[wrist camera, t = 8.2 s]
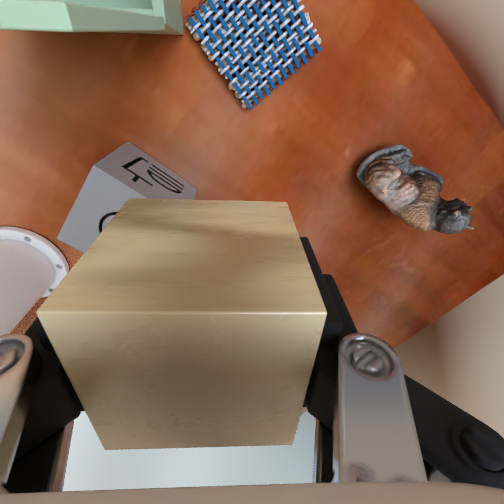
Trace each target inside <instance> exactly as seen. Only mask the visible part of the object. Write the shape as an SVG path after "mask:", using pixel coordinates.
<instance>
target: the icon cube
mask: <svg viewBox="0 0 504 504" xmlns="http://www.w3.org/2000/svg"><path fill="white" fill-rule="evenodd" d="M196 192H197V188H196V187H194V186H193V185H191V184H190V183H188V182H187V181H185V180H184V179H182V178H181V177H179V176H178V175H177V174H175V173H174V172H172V171H171V170H169V169H168V168H166V167H165V166H163V165H162V164H161V163H159V162H158V161H156V160H155V159H153V158H152V157H150V156H149V155H147V154H146V153H145V152H143V151H142V150H140V149H139V148H137V147H136V146H134V145H133V144H131V143H130V142H128V141H127V142H126V143H124V144H123V145H122V146H120V147H119V148H117V149H116V150H114V151H113V152H111V153H110V154H108V155H107V156H106V157H104V158H103V159H101V160H100V161H98V162H97V163H95V164H94V165H93V167H92V169H91V171H90V173H89V175H88V177H87V179H86V181H85V183H84V185H83V187H82V189H81V191H80V193H79V195H78V197H77V199H76V201H75V203H74V205H73V207H72V209H71V211H70V213H69V215H68V217H67V219H66V221H65V223H64V225H63V227H62V229H61V231H60V233H59V235H58V237H57V239H58V240H60V241H62V242H64V243H66V244H68V245H70V246H72V247H74V248H76V249H78V250H80V251H81V252H83V253H85V251H86V250H87V249H88V248H89V247H90V245H91V244H92V243H93V242H94V241H95V239H96V238H97V237H98V236H99V234H100V233H101V232H102V231H103V230H104V228H105V227H106V226H107V225H108V224H109V222H110V221H111V220H112V219H113V217H114V216H115V215H116V214H117V213H118V211H119V210H120V209H121V208H122V206H123V205H124V204H125V203H126V202H127V200H128V199H129V198H151V199H188V200H194V198H195V195H196Z"/></svg>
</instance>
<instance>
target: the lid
mask: <svg viewBox="0 0 504 504" xmlns="http://www.w3.org/2000/svg"><path fill="white" fill-rule="evenodd" d="M0 30H22V31H50V32H109V31H156V30H165V24H164V18H163V17H160V16H154V15H148V14H141V13H135V12H129V11H122V10H116V9H110V8H103V7H97V6H91V5H84V4H78V3H72V2H65V1H48V0H0Z"/></svg>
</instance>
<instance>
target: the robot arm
mask: <svg viewBox="0 0 504 504" xmlns="http://www.w3.org/2000/svg"><path fill="white" fill-rule="evenodd" d="M300 240H301V243H302V245H303V248H304V251H305V254H306V256H307V259H308V262H309V264H310V267H311V270H312V273H313V275H314V278H315V281H316V284H317V286H318V289H319V292H320V294H321V297H322V300H323V303H324V305H325V308H326V311H327V316H326V320H325V324H324V327H323V331H322V335H321V339H320V343H319V346H318V350H317V354H316V358H315V362H314V365H313V369H312V373H311V377H310V381H309V384H308V388H307V392H306V396H305V400H304V403H303V407H307V409H308V412H309V413H310V414H311V415H313V416H314V417H315V418H316V430H315V448H314V465H313V483H304V484H272V485H271V484H270V485H238V486H208V487H178V488H150V489H121V490H95V491H94V490H93V491H66V492H62V490H63V484H64V478H65V472H66V466H67V460H68V454H69V448H70V442H71V436H72V430H73V423H74V419H76V418H77V417H78V416H79V415H80V413H81V411H85V410H84V408H83V406H82V404H81V402H80V400H79V398H78V396H77V394H76V392H75V390H74V388H73V386H72V384H71V382H70V380H69V378H68V376H67V374H66V372H65V370H64V368H63V366H62V364H61V362H60V360H59V358H58V356H57V354H56V352H55V350H54V348H53V346H52V344H51V342H50V340H49V338H48V336H47V334H46V332H45V330H44V328H43V326H42V324H41V322H40V320H39V318H38V317H37V318H36V320H35V321H34V322H33V323H32V325H31V327H30V328H29V329H28V330H27V332H26V333H25V334H24V335H23V334H17V333H15V334H10V333H11V331H12V330H13V329H14V328H15V327H16V326H17V324H18V323H19V322H20V321H21V320H22V319H23V317H24V316H25V315H26V314H27V313H28V311H29V310H30V309H31V308H32V307H33V306H34V304H35V303H36V302H37V301H38V300H39V299H40V297H47V296H49V295H50V294H51V293H52V292H53V290H54V289H55V288H56V287H57V286H58V284H59V283H60V282H61V281H62V279H63V278H64V277H65V276H66V275H67V273H68V272H69V266H68V263H67V261H66V259H65V257H64V255H63V254H62V253H61V252H60V250H59V249H58V248H57V247H56V246H55V245H53V244H52V243H51V242H50V241H48V240H47V239H45V238H44V237H42V236H40V235H38V234H36V233H34V232H31V231H29V230H26V229H22V228H17V227H8V226H6V227H0V504H504V439H503V438H502V437H501V436H500V435H499V434H498V433H497V432H496V431H494V430H493V429H492V428H490V427H489V426H487V425H486V424H484V423H483V422H481V421H479V420H478V419H476V418H475V417H473V416H471V415H470V414H468V413H467V412H465V411H463V410H461V409H460V408H458V407H457V406H455V405H453V404H452V403H450V402H449V401H447V400H445V399H444V398H442V397H440V396H439V395H437V394H436V393H434V392H432V391H431V390H429V389H427V388H426V387H424V386H423V385H420V384H419V383H418V382H416V381H414V380H413V379H411V378H410V377H408V376H406V375H405V374H403V370H402V366H401V362H400V359H399V357H398V355H397V354H396V352H395V351H394V350H393V348H392V347H391V346H389V345H388V344H387V343H386V342H385V341H383V340H381V339H379V338H377V337H376V336H373V335H369V334H366V333H358V332H357V329H356V327H355V325H354V323H353V321H352V318H351V316H350V314H349V312H348V310H347V307H346V305H345V303H344V301H343V298H342V296H341V294H340V292H339V290H338V287H337V285H336V283H335V281H334V279H333V277H332V276H331V275H330V274H322V272H321V269H320V267H319V264H318V262H317V259H316V257H315V255H314V252H313V250H312V247H311V245H310V242H309V240H308V238H307V237H300Z"/></svg>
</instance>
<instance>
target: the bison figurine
mask: <svg viewBox="0 0 504 504" xmlns="http://www.w3.org/2000/svg"><path fill="white" fill-rule="evenodd" d="M411 157H412V153H411V151H410V149H408V148H406V147H404V146H403V145H394V146H390V147H386V148H383V149H381V150H379V151H377V152H374V153H373V154H371V155H370V156H368V157H367V158H366V159H365V160H364V161H363V162H362V163H361V165H360V167H359V168H358V171H357V178H358V179H359V180H360V181H361V182H362V183H363V185H364V186H365V187H366V188H367V189H368V190H369V191H370V192H371V193H372V194H373V195H374V196H375V197H376V199H378V200H379V201H380V202H382V203H384V205H385V207H386V208H387V209H388V210H389V211H390V212H391V213H392V214H394V215H395V216H397V217H399V218H400V219H402V220H403V221H404V222H405V223H406V224H407V225H410V226H411V227H413V228H416V229H419V230H422V231H429V230H432V229H433V230H436V231H438V232H441V233H446V234H453V233H458V232H461V231H463V230H465V229H474V227H471V226H470V225H468V224H469V223H470V220H471V216H470V213H469V212H470V211H471V209H472V207H471V206H467V204H466V203H465V201H460V200H459V199H458V198H456V199H454V200H451V201H446V200H444V199H442V198H440V194H439V193H440V192H441V190H442V184H443V181H444V178H443V177H442V176H440V175H438V174H436V173H434V172H432V171H430V170H428V169H426V168H424V167H423V166H417V165H412V164H410V163H409V162H407V161H409V160H410V158H411Z"/></svg>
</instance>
